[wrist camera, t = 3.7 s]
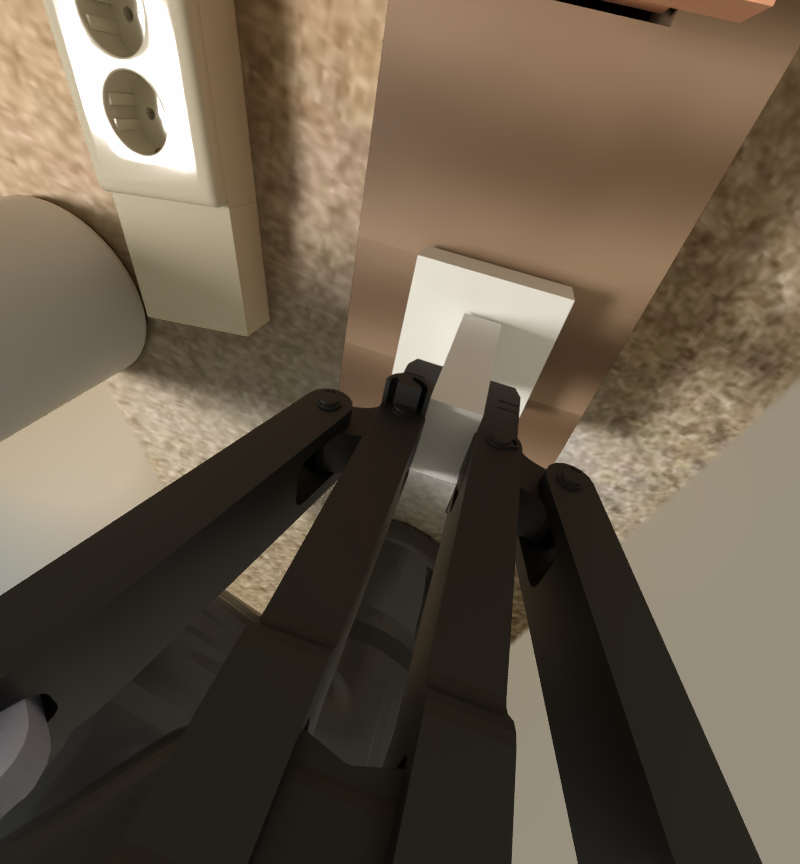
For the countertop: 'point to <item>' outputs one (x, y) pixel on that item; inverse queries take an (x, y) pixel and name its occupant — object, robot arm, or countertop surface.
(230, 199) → the electrical outlet
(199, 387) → the countertop surface
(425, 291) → the white square plug
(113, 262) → the cylinder vase
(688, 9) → the plug terracotta
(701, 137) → the block
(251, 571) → the countertop surface
